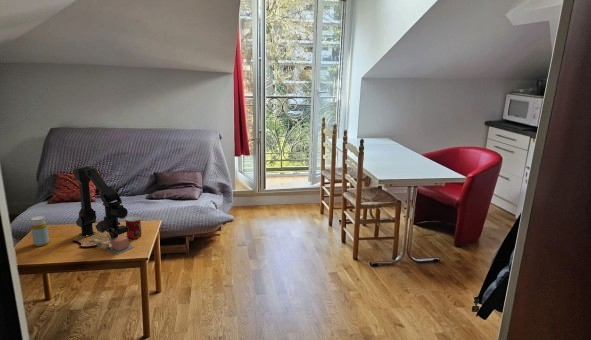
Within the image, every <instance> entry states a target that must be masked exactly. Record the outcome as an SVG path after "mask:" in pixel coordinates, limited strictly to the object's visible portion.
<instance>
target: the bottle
mask: <svg viewBox="0 0 591 340" xmlns="http://www.w3.org/2000/svg"><path fill="white" fill-rule="evenodd" d="M30 223H31V226H30V230H31V236H32V241H33V245H34V246H35V247H38V248H39V247H44V246H47V245H48V244H50V243H49V242H50V239H49V230H48V225H47V223H46V218H45V216H44V215H36V216H33V217H31V218H30Z"/></svg>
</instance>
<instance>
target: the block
mask: <svg viewBox="0 0 591 340" xmlns="http://www.w3.org/2000/svg"><path fill="white" fill-rule="evenodd" d="M111 245H112V248H113V249H115V250H118V251H120V250H123V249H125V248H127V247H129V245H130V243H129V238H128V237H127V236H123V235H118V237H116V238H113V239H111Z"/></svg>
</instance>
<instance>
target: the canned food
mask: <svg viewBox="0 0 591 340" xmlns="http://www.w3.org/2000/svg"><path fill="white" fill-rule="evenodd" d="M124 219H125V226H127V227H128V228H129V231H128V232H126V237H127V238H128V240H129V239H130V240H136V239H140V238H141V237H142V223H141V216H138V215H129V216H126V217H125V218H124Z"/></svg>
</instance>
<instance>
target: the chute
mask: <svg viewBox="0 0 591 340" xmlns="http://www.w3.org/2000/svg"><path fill="white" fill-rule="evenodd" d="M107 238H109V240H108V241H107V242H102V241H101V239H97V238H93V239H92V244H93V243H94V244H96V245H97V246H96V247H97V248H99V249H100V248H101V249H103V250H106V251H108V249H111V248H112V245H111V237H110V235H109V233H107Z"/></svg>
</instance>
